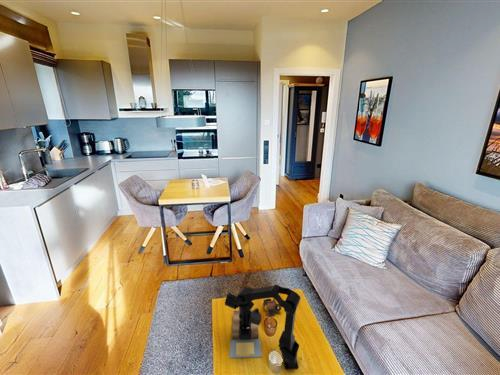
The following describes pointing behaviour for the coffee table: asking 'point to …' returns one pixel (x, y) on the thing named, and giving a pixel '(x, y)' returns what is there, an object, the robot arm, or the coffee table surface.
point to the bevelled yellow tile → (244, 349)
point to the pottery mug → (271, 307)
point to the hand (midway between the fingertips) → (245, 334)
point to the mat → (256, 342)
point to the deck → (236, 325)
